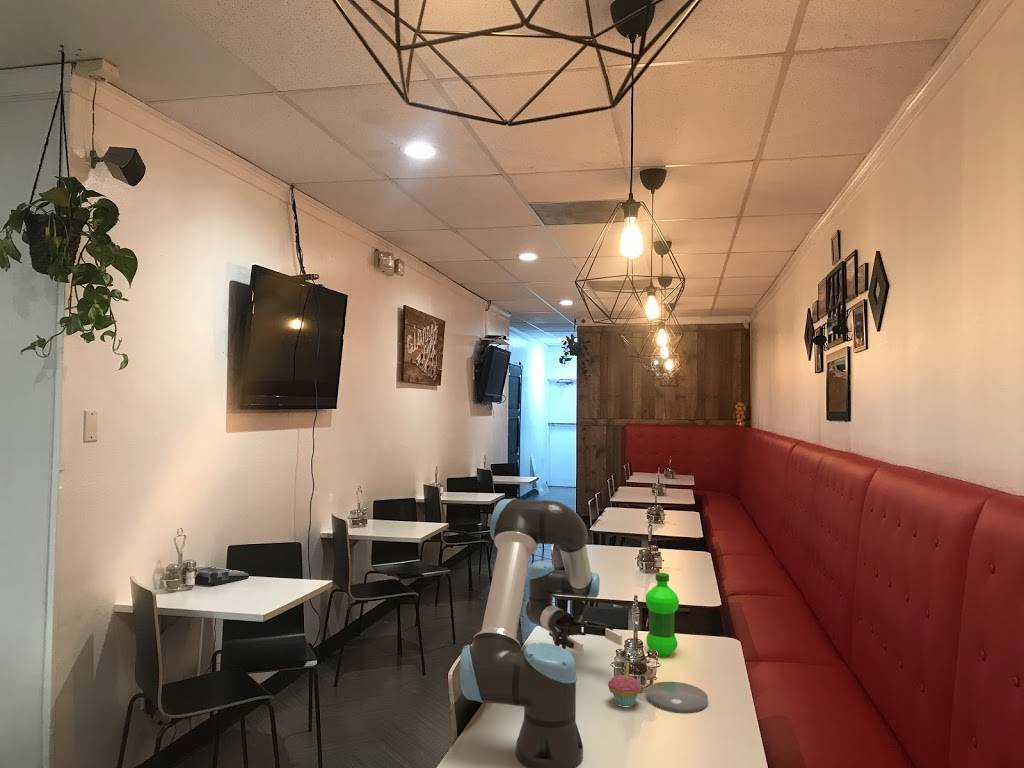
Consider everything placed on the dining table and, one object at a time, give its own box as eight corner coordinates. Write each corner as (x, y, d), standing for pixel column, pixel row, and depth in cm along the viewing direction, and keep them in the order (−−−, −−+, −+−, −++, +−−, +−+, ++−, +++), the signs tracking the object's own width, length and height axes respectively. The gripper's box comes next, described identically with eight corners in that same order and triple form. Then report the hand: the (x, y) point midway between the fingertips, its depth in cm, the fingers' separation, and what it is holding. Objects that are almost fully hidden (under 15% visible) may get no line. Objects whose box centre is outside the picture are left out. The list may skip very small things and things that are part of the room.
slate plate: (676, 718, 172) (676, 712, 172) (634, 694, 186) (634, 688, 186) (720, 704, 180) (720, 698, 181) (677, 682, 194) (677, 677, 194)
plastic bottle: (648, 645, 223) (649, 569, 224) (681, 651, 219) (682, 572, 220) (641, 656, 214) (642, 576, 215) (675, 661, 210) (675, 580, 211)
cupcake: (646, 708, 178) (647, 661, 178) (617, 713, 175) (618, 665, 175) (630, 694, 186) (630, 650, 186) (602, 699, 183) (602, 653, 183)
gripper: (590, 627, 214) (636, 649, 196) (523, 641, 201) (564, 667, 183) (590, 603, 214) (636, 623, 196) (523, 616, 201) (565, 638, 183)
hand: (601, 644), depth 189 cm, fingers open, 13 cm apart
